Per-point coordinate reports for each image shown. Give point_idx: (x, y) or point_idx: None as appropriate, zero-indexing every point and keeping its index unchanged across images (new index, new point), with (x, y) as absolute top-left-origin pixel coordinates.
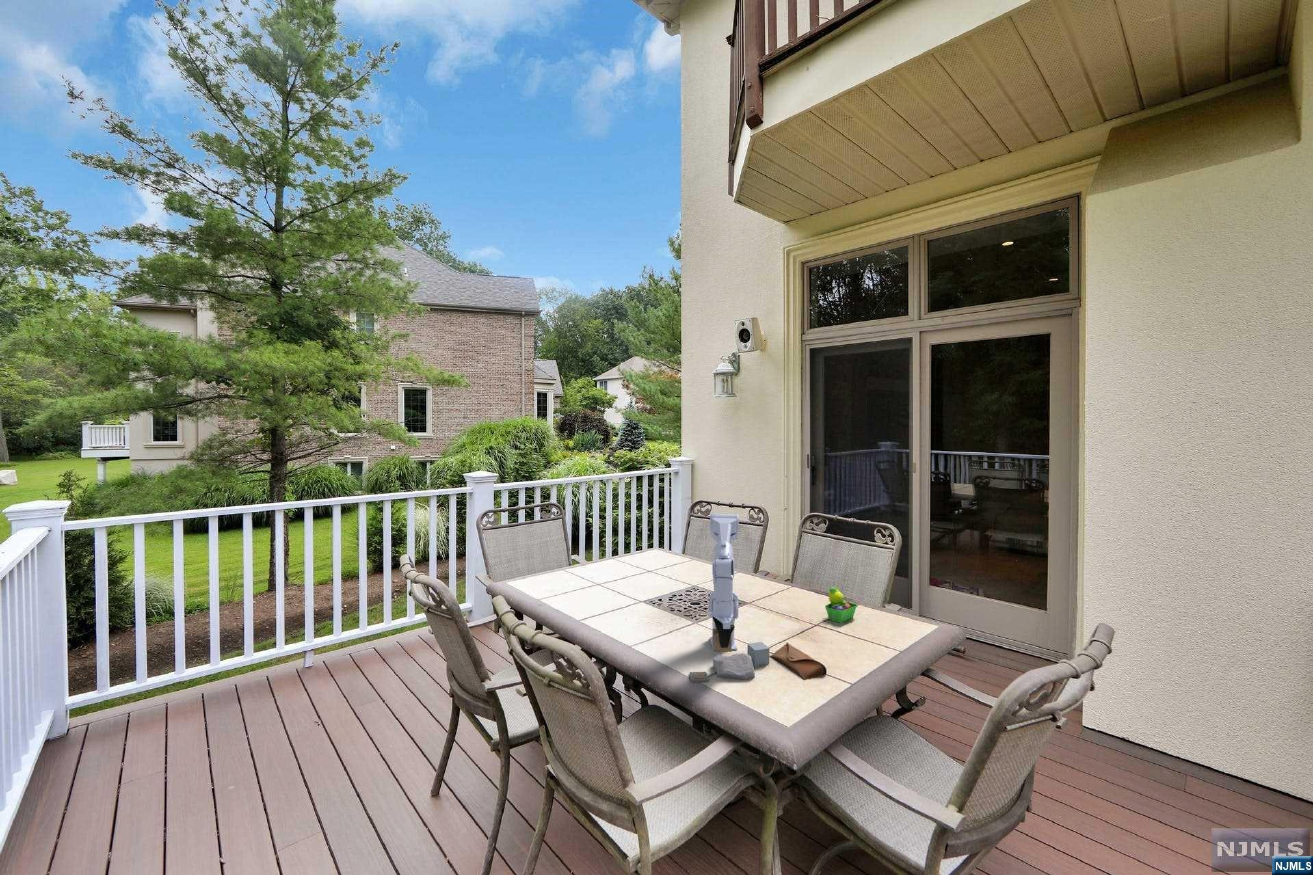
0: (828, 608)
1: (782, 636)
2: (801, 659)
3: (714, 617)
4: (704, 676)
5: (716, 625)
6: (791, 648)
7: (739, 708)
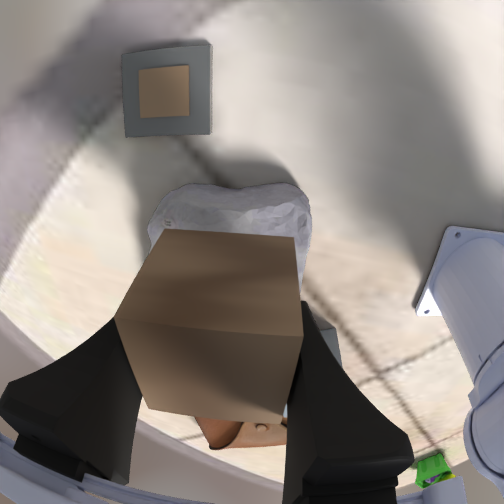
0: (441, 471)
1: (427, 409)
2: (236, 435)
3: (320, 470)
4: (158, 119)
5: (9, 414)
6: None
7: (4, 223)
